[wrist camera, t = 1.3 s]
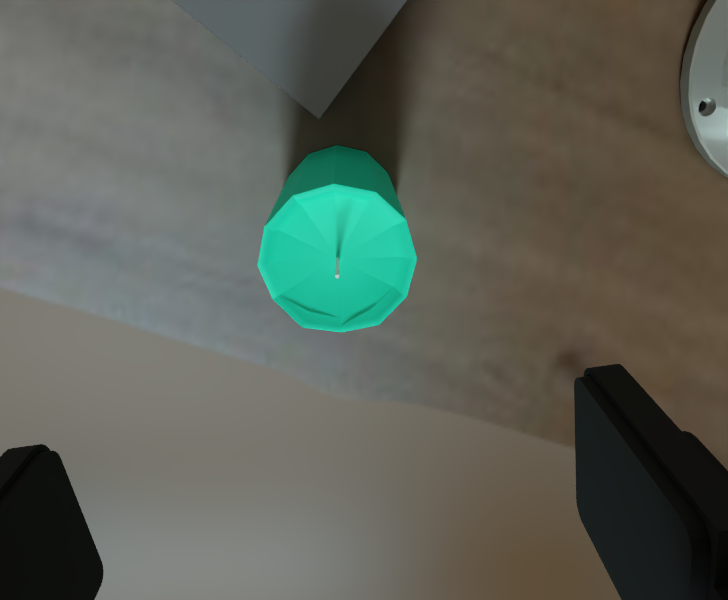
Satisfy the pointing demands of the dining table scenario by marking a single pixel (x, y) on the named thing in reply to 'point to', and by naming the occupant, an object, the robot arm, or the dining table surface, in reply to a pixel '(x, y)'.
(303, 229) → the candle
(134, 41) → the dining table surface
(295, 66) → the plinth
